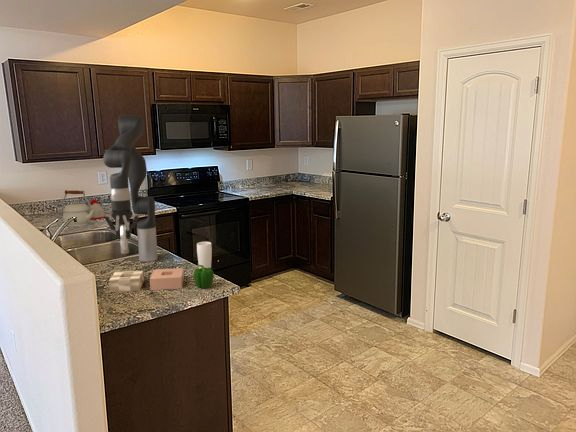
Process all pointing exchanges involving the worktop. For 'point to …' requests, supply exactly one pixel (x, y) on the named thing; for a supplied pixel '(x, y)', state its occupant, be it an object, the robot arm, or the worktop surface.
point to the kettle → (77, 211)
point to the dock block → (167, 279)
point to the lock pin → (123, 239)
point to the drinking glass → (204, 254)
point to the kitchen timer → (96, 210)
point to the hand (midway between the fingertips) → (123, 238)
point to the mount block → (126, 281)
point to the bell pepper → (203, 277)
